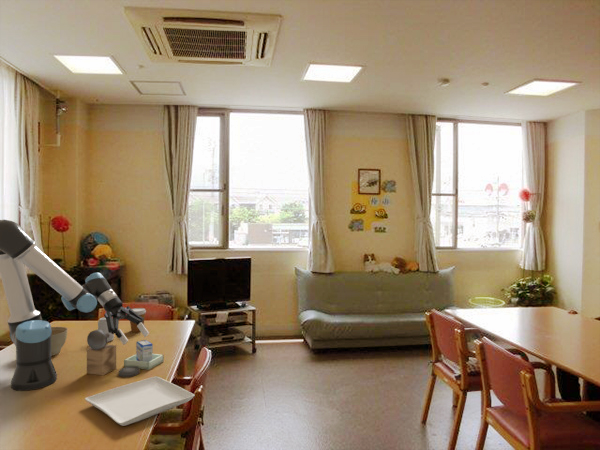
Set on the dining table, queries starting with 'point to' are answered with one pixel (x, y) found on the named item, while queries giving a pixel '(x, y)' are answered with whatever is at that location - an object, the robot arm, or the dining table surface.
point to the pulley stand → (100, 353)
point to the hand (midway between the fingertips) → (137, 338)
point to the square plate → (139, 400)
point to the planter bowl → (58, 339)
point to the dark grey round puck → (129, 371)
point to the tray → (144, 365)
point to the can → (105, 328)
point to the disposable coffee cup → (142, 313)
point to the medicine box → (144, 351)
